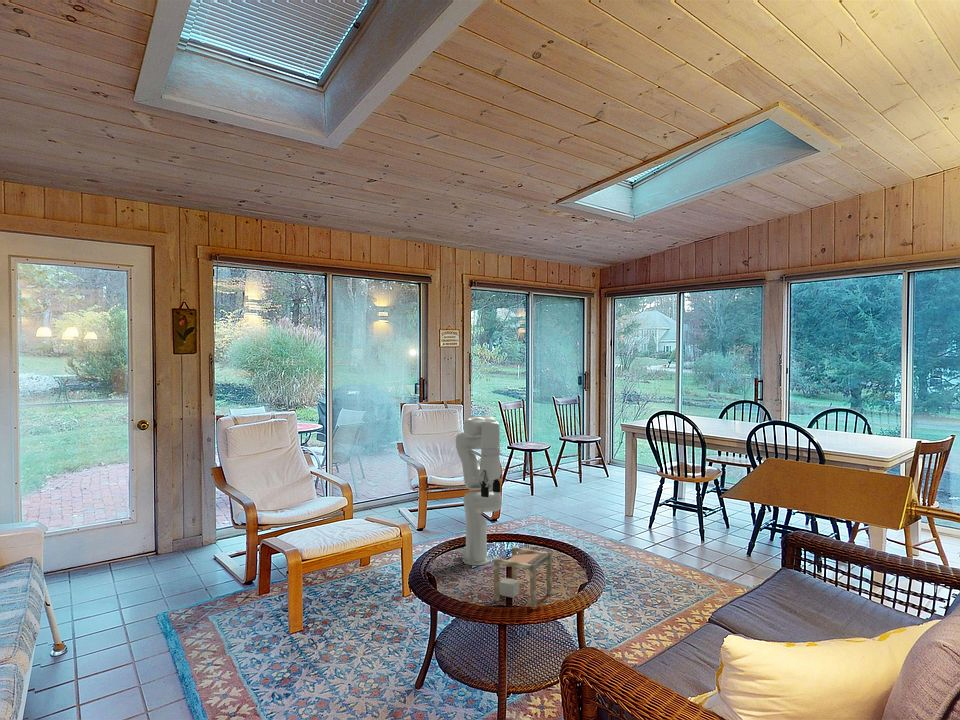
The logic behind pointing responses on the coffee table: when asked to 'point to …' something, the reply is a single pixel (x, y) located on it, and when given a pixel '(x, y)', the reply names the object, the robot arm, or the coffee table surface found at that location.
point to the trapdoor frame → (532, 568)
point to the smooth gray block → (509, 587)
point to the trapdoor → (526, 558)
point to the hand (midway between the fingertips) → (490, 494)
